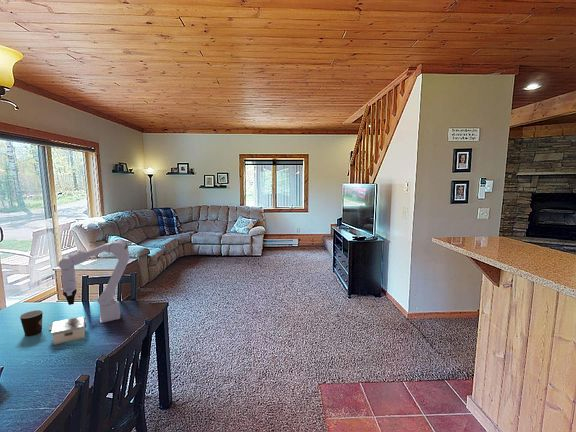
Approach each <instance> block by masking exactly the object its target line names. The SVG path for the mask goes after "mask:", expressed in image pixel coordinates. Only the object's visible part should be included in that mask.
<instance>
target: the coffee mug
mask: <svg viewBox="0 0 576 432" xmlns="http://www.w3.org/2000/svg"><path fill="white" fill-rule="evenodd" d="M43 312H44V311H43V310H40V309H39V310H38V309H36V310H30V311H26V312H24V313H22V314H21V315H19V319H20V324H21V326H22V328H23V333H24V336H25V337H34V336H37V335H40V334H41V333H42V332H43V314H44V313H43Z"/></svg>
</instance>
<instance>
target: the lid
mask: <svg viewBox="0 0 576 432" xmlns="http://www.w3.org/2000/svg"><path fill="white" fill-rule="evenodd" d="M84 318H85V316H78V317H77V316H76V317H73V318H67V319H61V320H56V321H53V322H52V324H51V325H49V329H48V332H50V333H51V335H53V334H56V333H61V332H66V331H71V330H76V329H81V328H84V327H85V324H84Z"/></svg>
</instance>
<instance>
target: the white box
mask: <svg viewBox="0 0 576 432" xmlns="http://www.w3.org/2000/svg"><path fill="white" fill-rule="evenodd" d="M85 328H87V316H86V317H85V316H84V328H81V329H76V330H71V331H66V332H61V333H56V334H52V343H53V346H55V345H59V344H64V343H68V342H73V341H77V340H79V339H84V338H86V337H85V335H86V334H85V332H86V331H85Z"/></svg>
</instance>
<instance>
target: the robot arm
mask: <svg viewBox="0 0 576 432" xmlns="http://www.w3.org/2000/svg"><path fill="white" fill-rule="evenodd" d="M129 252H130V251H129V244H128V243H127V242H126V241H125V240H124V239H121V238H120V239H116V240H113V241H112V240H111V241H109V242H107V243H104V244H102V245H100V246H97V247H95V248H92V249H90V250H81V249H80V250H78V251H77V252H76V253H73V254H69V255H67V256H65V257H63V258H62V259H61V260H59V262H58V267H59V268H60V272H61V283H62V288H60V292H63V293H62V295H63V296H64V297H65V298H66V299H65V300H66V301H67V304H68V306H71V305H74V304H75V297H76V294H77V292H78V291H77V288H78V287H77V281H76V278H77V277H76V270H75V266H77V265H80V264H83V263H85V262H87V261H89V260H90V258H91V257H93V256H96V255H99V254H101V253H108V254H110V253H111V254H113V255H114V256H115V257H116V258H117V260H118V261H117V263H116V265H115V268H114V270H113V272H112V274H111V276H110V278H109V281H108V282H107V284H106V286H105V287H104V290H103V291H102V293H101V294H100V295H99V296H98V298H97V303H98V305H99V314H100V315H99V322H100V324H102V323H107V322H111V321H114V320H119V319H121V308H120V301H119V300H115V296H116V291H117V290H116V289H117V287H118V285H119V283H120V280H121V278H122V276H123V274H124V272H125V269H126V267H127V265H128V264H129V261H130V253H129Z"/></svg>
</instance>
